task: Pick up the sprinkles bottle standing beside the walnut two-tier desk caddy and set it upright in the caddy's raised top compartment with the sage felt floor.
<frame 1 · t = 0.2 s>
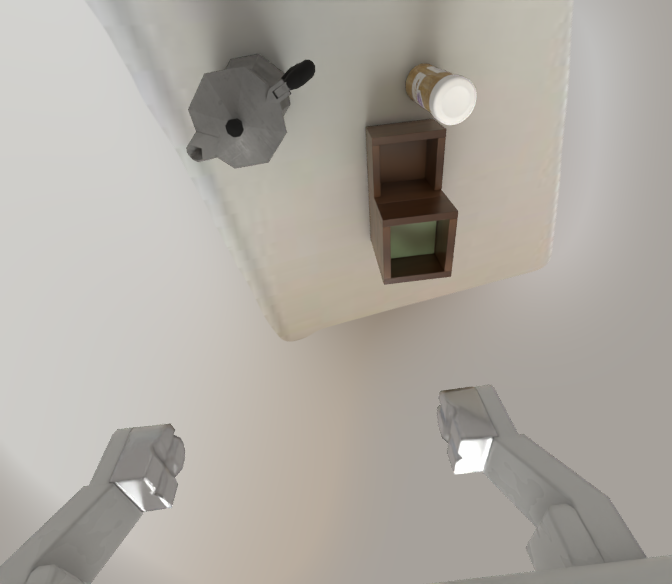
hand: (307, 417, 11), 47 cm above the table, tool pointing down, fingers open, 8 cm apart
caddy: (398, 185, 56), on the table
sprinkles bottle: (421, 83, 48), on the table
coffeepot: (261, 89, 47), on the table
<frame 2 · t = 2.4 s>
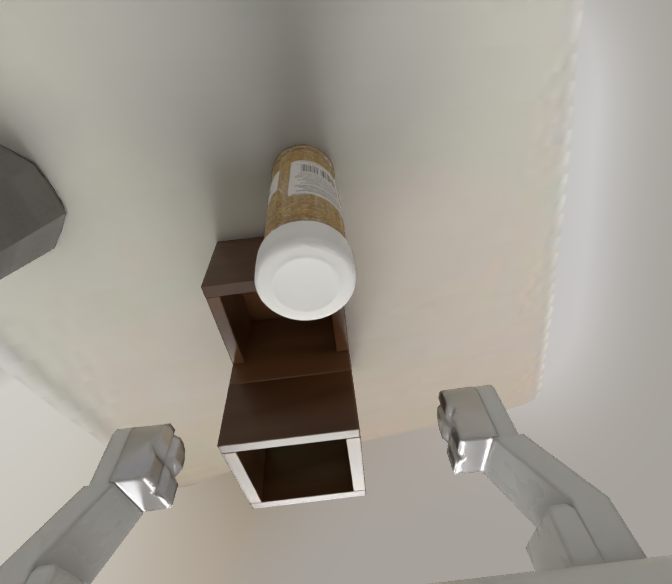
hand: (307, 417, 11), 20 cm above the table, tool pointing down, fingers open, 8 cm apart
caddy: (294, 317, 35), on the table
sprinkles bottle: (304, 174, 27), on the table
coffeepot: (6, 189, 26), on the table
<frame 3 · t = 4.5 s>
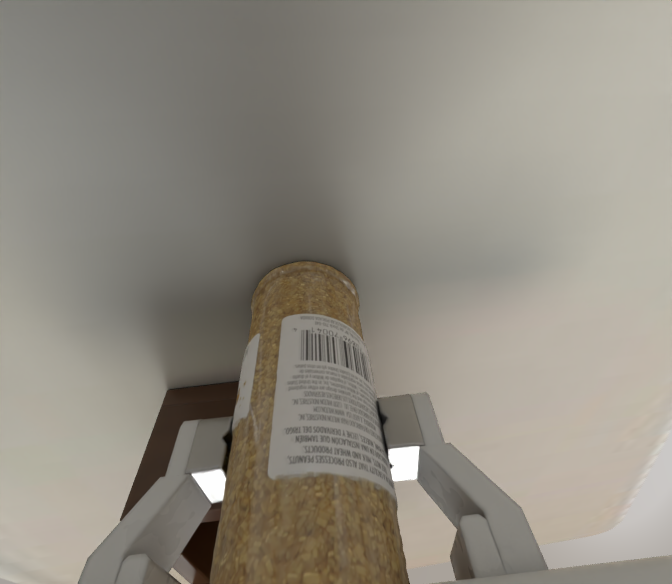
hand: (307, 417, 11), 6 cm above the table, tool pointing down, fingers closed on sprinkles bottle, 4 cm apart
caddy: (291, 467, 24), on the table
sprinkles bottle: (307, 299, 16), on the table, touching gripper
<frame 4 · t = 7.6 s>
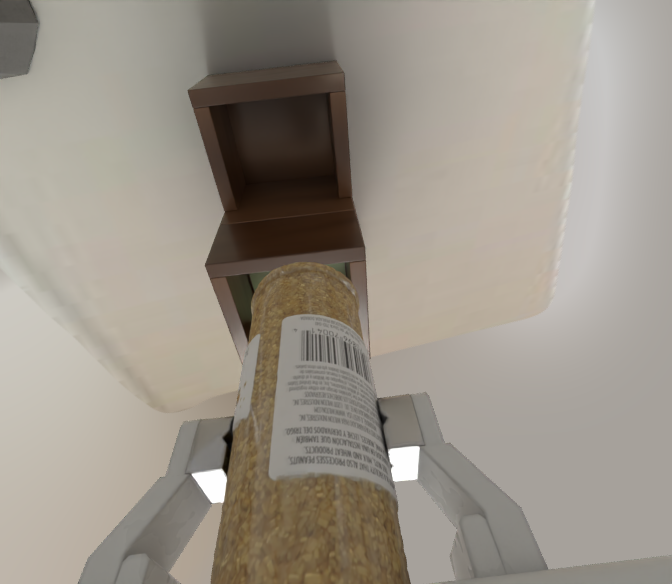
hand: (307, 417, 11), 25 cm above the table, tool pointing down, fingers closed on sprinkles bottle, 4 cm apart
caddy: (292, 186, 32), on the table
sprinkles bottle: (307, 299, 16), point 19 cm above the table, touching gripper
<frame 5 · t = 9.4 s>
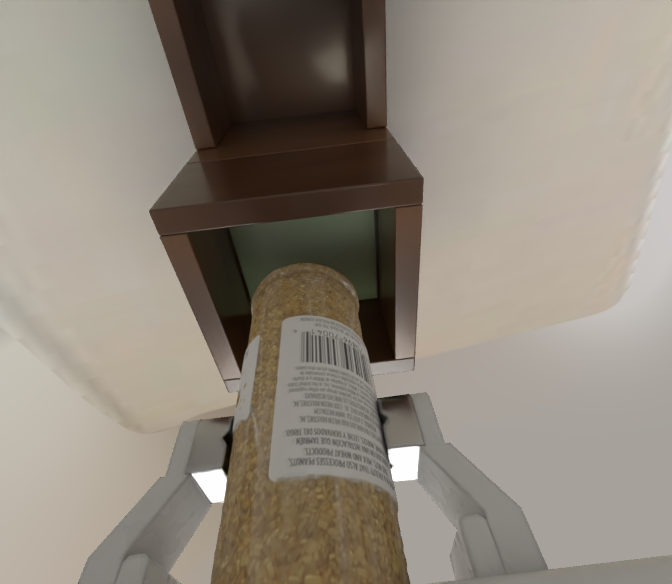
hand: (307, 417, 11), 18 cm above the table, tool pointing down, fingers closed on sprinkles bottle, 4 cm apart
caddy: (296, 130, 23), on the table
sprinkles bottle: (307, 300, 16), point 13 cm above the table, touching gripper
when the fingers open (14 cm above the table, at t = 10.9 s): sprinkles bottle stays where it is, resting on caddy.
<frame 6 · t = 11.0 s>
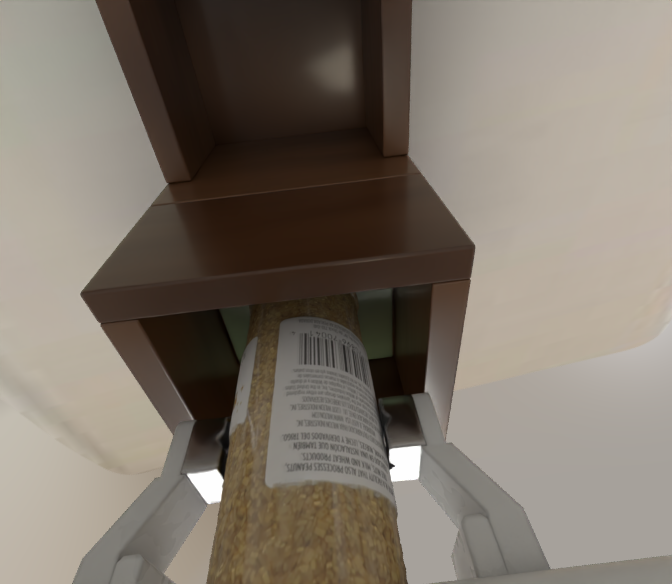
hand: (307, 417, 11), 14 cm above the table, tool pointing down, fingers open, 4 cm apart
caddy: (294, 150, 20), on the table
sprinkles bottle: (306, 301, 16), point 8 cm above the table, touching caddy
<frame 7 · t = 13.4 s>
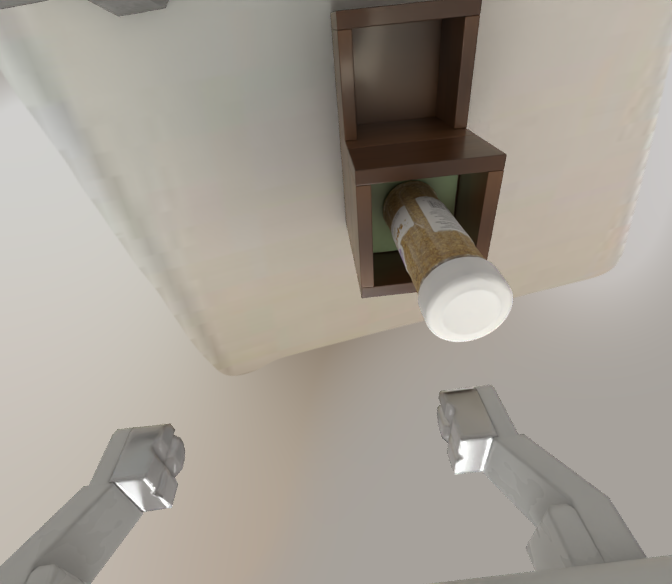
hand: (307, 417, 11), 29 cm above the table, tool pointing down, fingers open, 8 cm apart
caddy: (390, 130, 34), on the table
sprinkles bottle: (409, 205, 30), point 8 cm above the table, touching caddy
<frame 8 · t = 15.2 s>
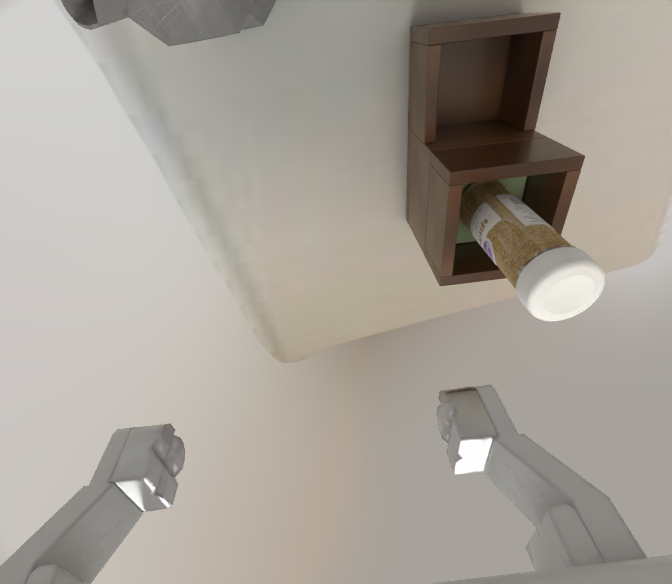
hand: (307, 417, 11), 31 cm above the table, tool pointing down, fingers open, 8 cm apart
caddy: (455, 131, 36), on the table
sprinkles bottle: (480, 201, 32), point 8 cm above the table, touching caddy
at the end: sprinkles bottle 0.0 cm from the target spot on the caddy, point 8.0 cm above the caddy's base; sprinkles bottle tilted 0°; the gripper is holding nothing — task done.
